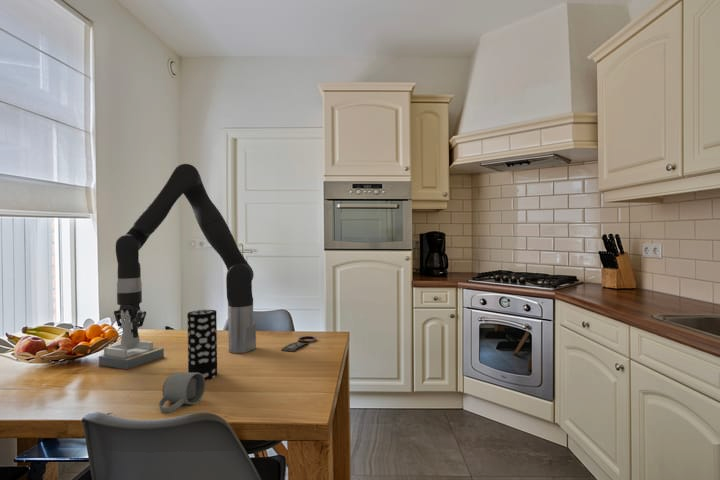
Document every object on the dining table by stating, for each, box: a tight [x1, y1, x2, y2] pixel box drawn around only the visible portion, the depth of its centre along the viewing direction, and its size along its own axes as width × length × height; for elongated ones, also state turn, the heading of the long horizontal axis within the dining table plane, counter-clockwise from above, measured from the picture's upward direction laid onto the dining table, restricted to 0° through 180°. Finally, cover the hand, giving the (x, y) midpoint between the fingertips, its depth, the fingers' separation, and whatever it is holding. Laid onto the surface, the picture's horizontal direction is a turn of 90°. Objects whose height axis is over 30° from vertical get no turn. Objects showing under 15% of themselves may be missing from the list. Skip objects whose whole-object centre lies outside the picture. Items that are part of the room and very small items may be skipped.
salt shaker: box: [120, 312, 141, 349], centre depth 132 cm, size 6×6×13 cm
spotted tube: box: [186, 309, 218, 382], centre depth 115 cm, size 8×8×20 cm
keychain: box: [281, 335, 317, 353], centre depth 149 cm, size 8×19×2 cm, turn 158°
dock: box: [98, 340, 165, 370], centre depth 132 cm, size 14×14×6 cm
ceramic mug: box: [158, 372, 206, 414], centre depth 96 cm, size 11×8×8 cm
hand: (130, 338), depth 132 cm, fingers closed on salt shaker, 3 cm apart
